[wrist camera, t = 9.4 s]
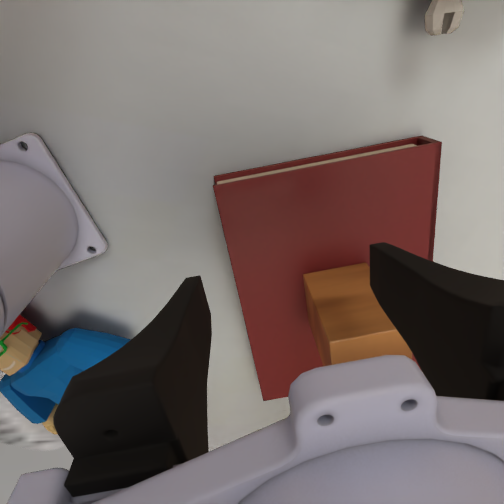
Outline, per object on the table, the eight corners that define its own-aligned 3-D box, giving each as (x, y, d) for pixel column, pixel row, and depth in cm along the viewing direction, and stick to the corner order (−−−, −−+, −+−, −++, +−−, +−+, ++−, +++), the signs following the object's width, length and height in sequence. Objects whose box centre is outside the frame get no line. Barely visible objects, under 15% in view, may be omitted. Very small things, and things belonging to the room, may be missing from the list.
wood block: (367, 312, 25) (411, 386, 19) (308, 323, 25) (334, 400, 19) (366, 261, 23) (414, 326, 17) (302, 273, 23) (328, 342, 17)
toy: (89, 477, 29) (-97, 377, 22) (107, 428, 32) (-48, 330, 26) (187, 425, 25) (3, 292, 19) (194, 377, 29) (41, 254, 23)
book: (411, 352, 30) (424, 371, 28) (260, 379, 30) (263, 401, 28) (422, 135, 22) (442, 141, 20) (213, 175, 22) (213, 186, 20)
